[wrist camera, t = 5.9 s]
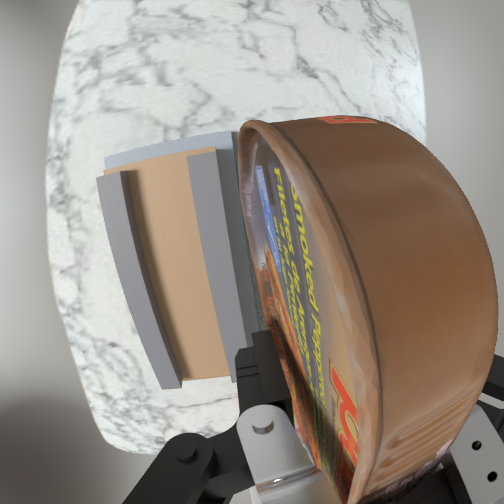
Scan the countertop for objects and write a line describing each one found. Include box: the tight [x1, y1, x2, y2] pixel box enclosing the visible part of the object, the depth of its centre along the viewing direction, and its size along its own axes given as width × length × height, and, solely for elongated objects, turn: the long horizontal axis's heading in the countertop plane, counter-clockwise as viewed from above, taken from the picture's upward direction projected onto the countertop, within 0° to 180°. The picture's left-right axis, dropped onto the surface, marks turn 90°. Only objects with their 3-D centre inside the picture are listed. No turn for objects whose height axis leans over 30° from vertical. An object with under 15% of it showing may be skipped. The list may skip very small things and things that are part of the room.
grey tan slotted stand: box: [96, 131, 259, 389], centre depth 24 cm, size 24×12×7 cm, turn 7°
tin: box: [238, 115, 498, 504], centre depth 7 cm, size 15×3×8 cm, turn 11°
